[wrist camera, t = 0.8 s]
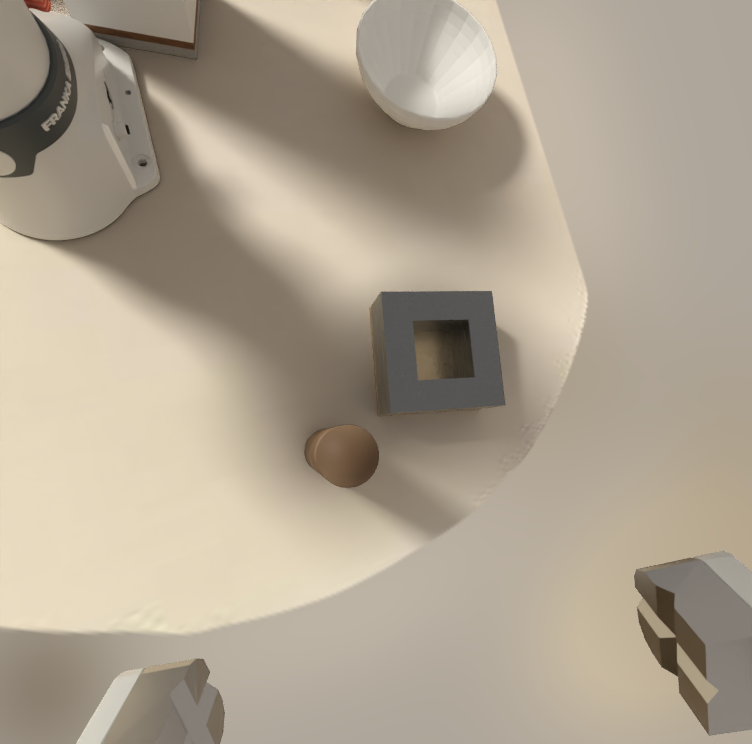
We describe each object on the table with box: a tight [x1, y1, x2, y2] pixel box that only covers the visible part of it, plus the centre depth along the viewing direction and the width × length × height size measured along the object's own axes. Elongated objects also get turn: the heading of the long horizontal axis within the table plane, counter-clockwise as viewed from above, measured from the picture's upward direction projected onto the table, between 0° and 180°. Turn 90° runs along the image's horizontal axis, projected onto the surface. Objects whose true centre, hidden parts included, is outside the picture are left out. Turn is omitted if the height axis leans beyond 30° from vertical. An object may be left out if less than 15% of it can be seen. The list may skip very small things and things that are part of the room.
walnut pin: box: [305, 425, 379, 488], centre depth 39 cm, size 4×4×15 cm
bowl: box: [356, 0, 497, 130], centre depth 51 cm, size 16×16×7 cm
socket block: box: [370, 291, 505, 416], centre depth 47 cm, size 12×12×6 cm
